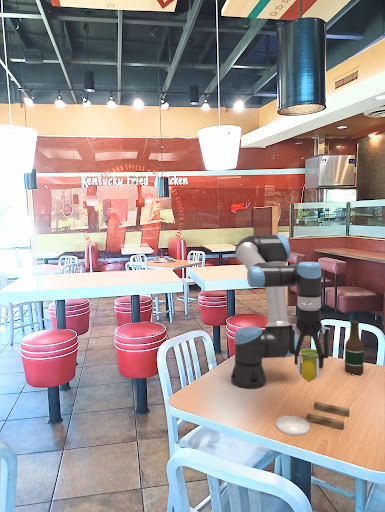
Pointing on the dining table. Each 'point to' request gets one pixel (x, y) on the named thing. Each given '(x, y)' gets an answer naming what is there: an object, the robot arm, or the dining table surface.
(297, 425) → the saucer
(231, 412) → the dining table surface
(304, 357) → the plant pot
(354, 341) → the beer bottle
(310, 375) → the lemon
